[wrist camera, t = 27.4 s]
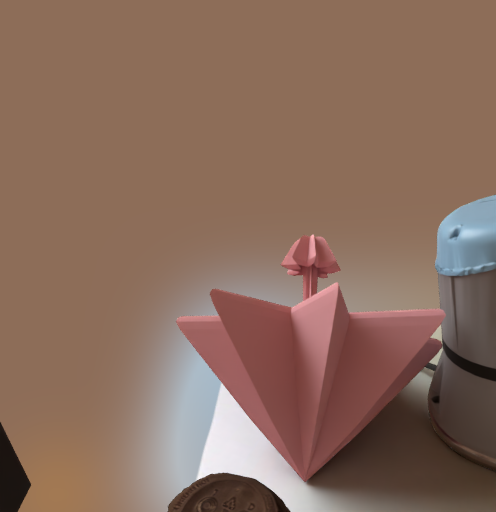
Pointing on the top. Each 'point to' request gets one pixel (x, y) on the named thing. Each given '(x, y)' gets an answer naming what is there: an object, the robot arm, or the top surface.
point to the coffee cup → (227, 496)
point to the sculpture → (311, 359)
